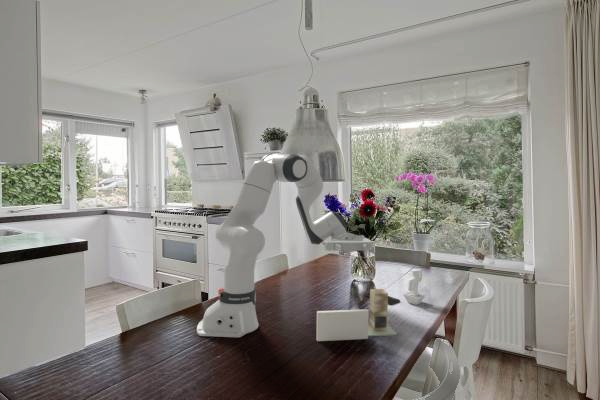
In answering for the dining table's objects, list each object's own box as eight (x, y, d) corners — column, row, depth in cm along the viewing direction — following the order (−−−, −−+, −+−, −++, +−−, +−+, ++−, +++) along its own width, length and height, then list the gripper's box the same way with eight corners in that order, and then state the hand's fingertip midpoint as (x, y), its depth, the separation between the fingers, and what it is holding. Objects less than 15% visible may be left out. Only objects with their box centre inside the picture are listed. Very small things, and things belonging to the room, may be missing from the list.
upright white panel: (317, 341, 123) (317, 312, 122) (316, 339, 125) (316, 311, 124) (368, 338, 125) (368, 310, 125) (366, 336, 127) (367, 309, 126)
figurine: (402, 303, 161) (402, 270, 160) (411, 298, 168) (412, 266, 166) (417, 307, 156) (418, 273, 155) (426, 301, 162) (428, 269, 161)
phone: (374, 291, 174) (400, 300, 163) (374, 293, 174) (400, 302, 163) (363, 294, 169) (390, 303, 158) (363, 297, 169) (390, 306, 158)
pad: (369, 336, 127) (369, 335, 127) (361, 324, 137) (361, 323, 137) (396, 335, 128) (396, 333, 128) (386, 323, 138) (386, 322, 138)
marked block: (373, 331, 130) (374, 294, 129) (369, 325, 135) (370, 289, 134) (387, 331, 130) (388, 293, 129) (382, 325, 136) (383, 288, 135)
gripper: (321, 235, 157) (327, 241, 144) (366, 235, 160) (377, 240, 146) (321, 249, 158) (327, 256, 144) (366, 249, 160) (376, 256, 146)
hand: (353, 248), depth 145 cm, fingers open, 8 cm apart
